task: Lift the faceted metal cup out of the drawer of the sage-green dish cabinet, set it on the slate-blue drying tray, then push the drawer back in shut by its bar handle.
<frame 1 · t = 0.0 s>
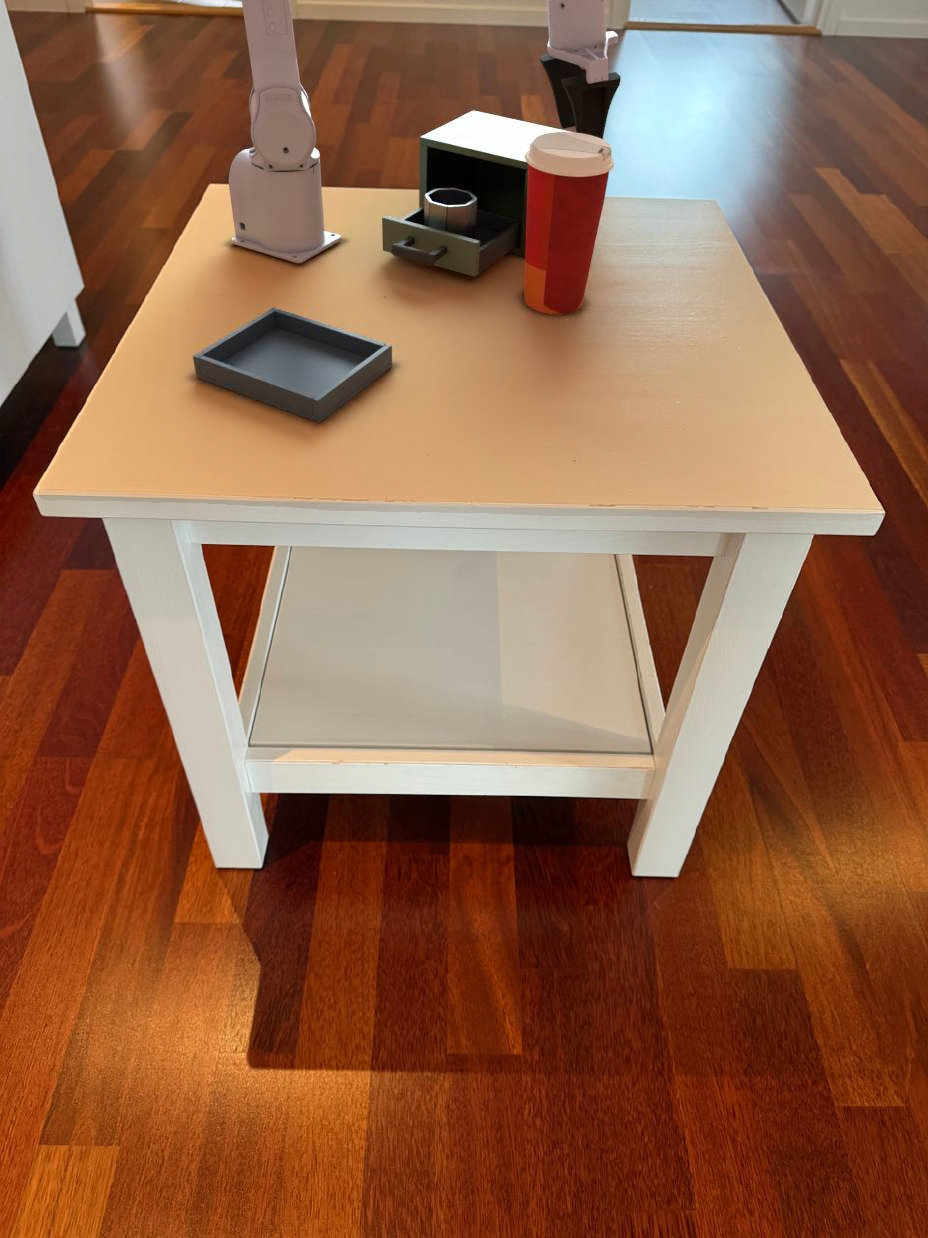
hand: (580, 137, 99), 11 cm above the table, tool pointing down, fingers open, 7 cm apart
drawer: (446, 235, 98), point 3 cm above the table, slide at 9.0 cm, touching faceted metal cup
faceted metal cup: (449, 244, 99), point 1 cm above the table, touching drawer
dish cabinet: (496, 225, 108), on the table
coffee cup: (552, 302, 94), on the table
drying tray: (296, 372, 82), on the table
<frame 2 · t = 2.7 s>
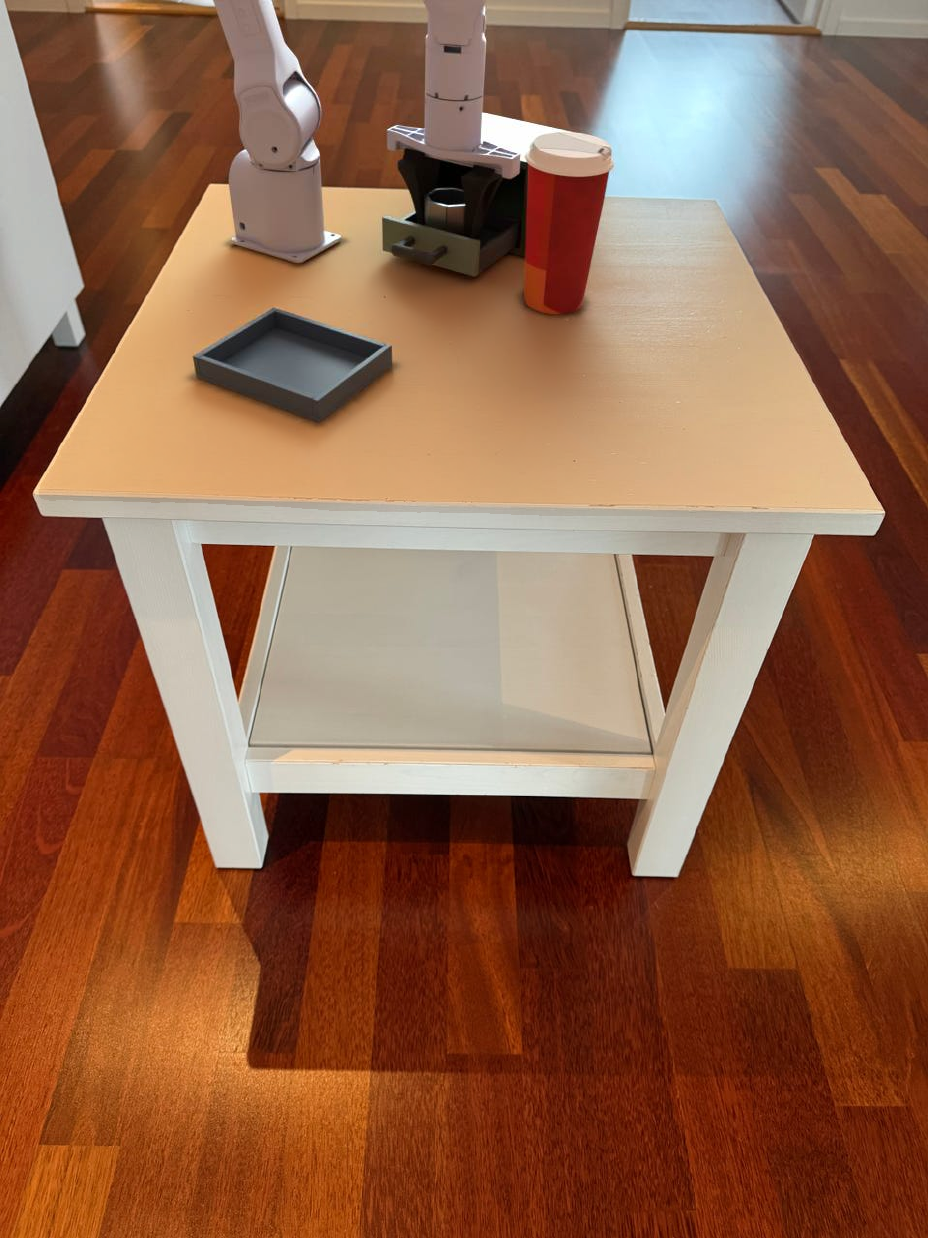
hand: (449, 233, 99), 3 cm above the table, tool pointing down, fingers closed on faceted metal cup, 5 cm apart
faceted metal cup: (448, 244, 100), point 2 cm above the table, touching gripper, drawer
everything else where it was.
when the fingers open (2 cm above the table, at t = 9.1 s): faceted metal cup stays where it is, resting on drying tray.
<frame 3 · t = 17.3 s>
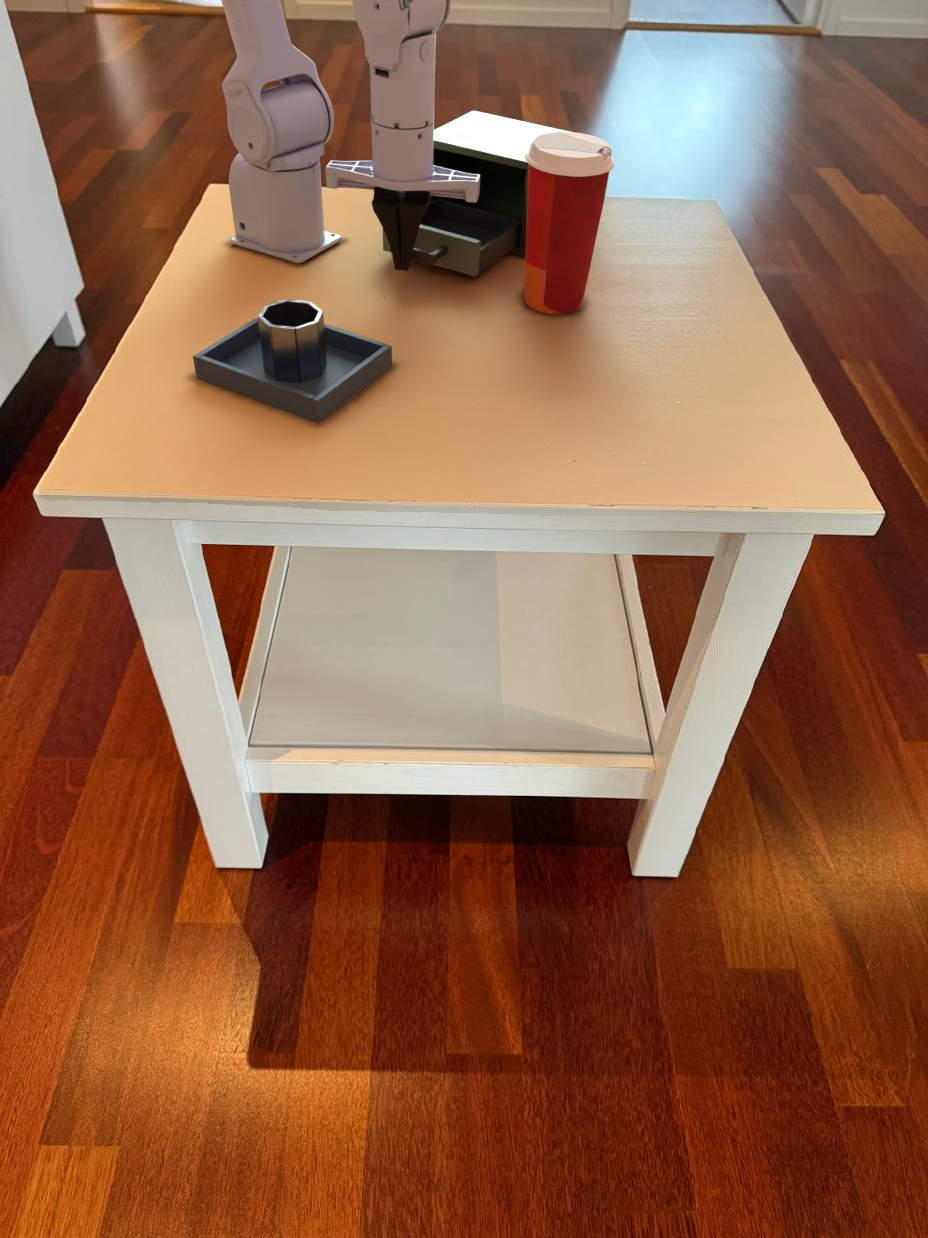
hand: (403, 266, 93), 2 cm above the table, tool pointing down, fingers closed
drawer: (446, 235, 98), point 3 cm above the table, slide at 8.9 cm, touching gripper
faceted metal cup: (295, 366, 81), resting on drying tray
everything else where it was.
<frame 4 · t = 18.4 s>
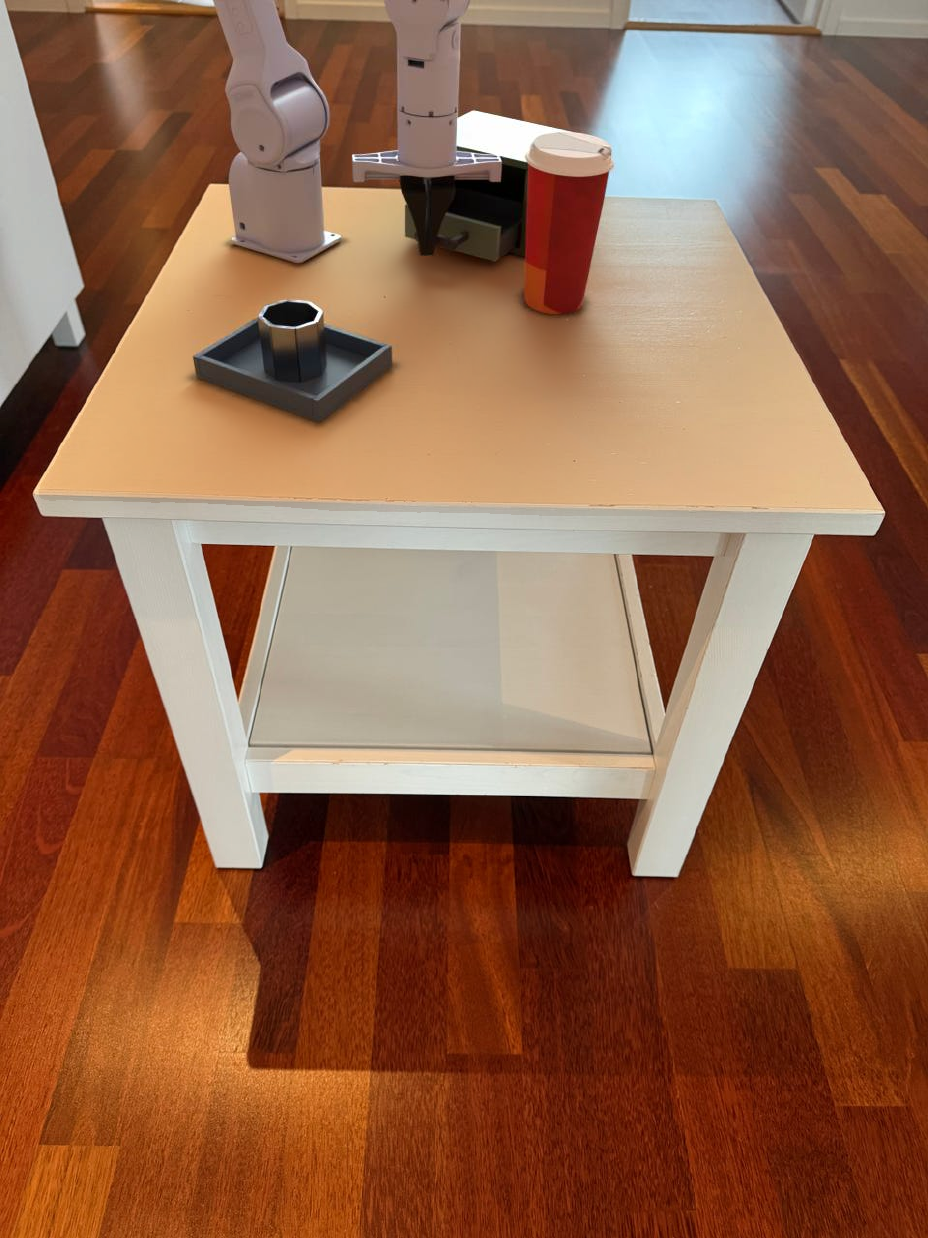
hand: (425, 251, 96), 2 cm above the table, tool pointing down, fingers closed
drawer: (466, 222, 101), point 3 cm above the table, slide at 4.5 cm, touching gripper
everything else where it was.
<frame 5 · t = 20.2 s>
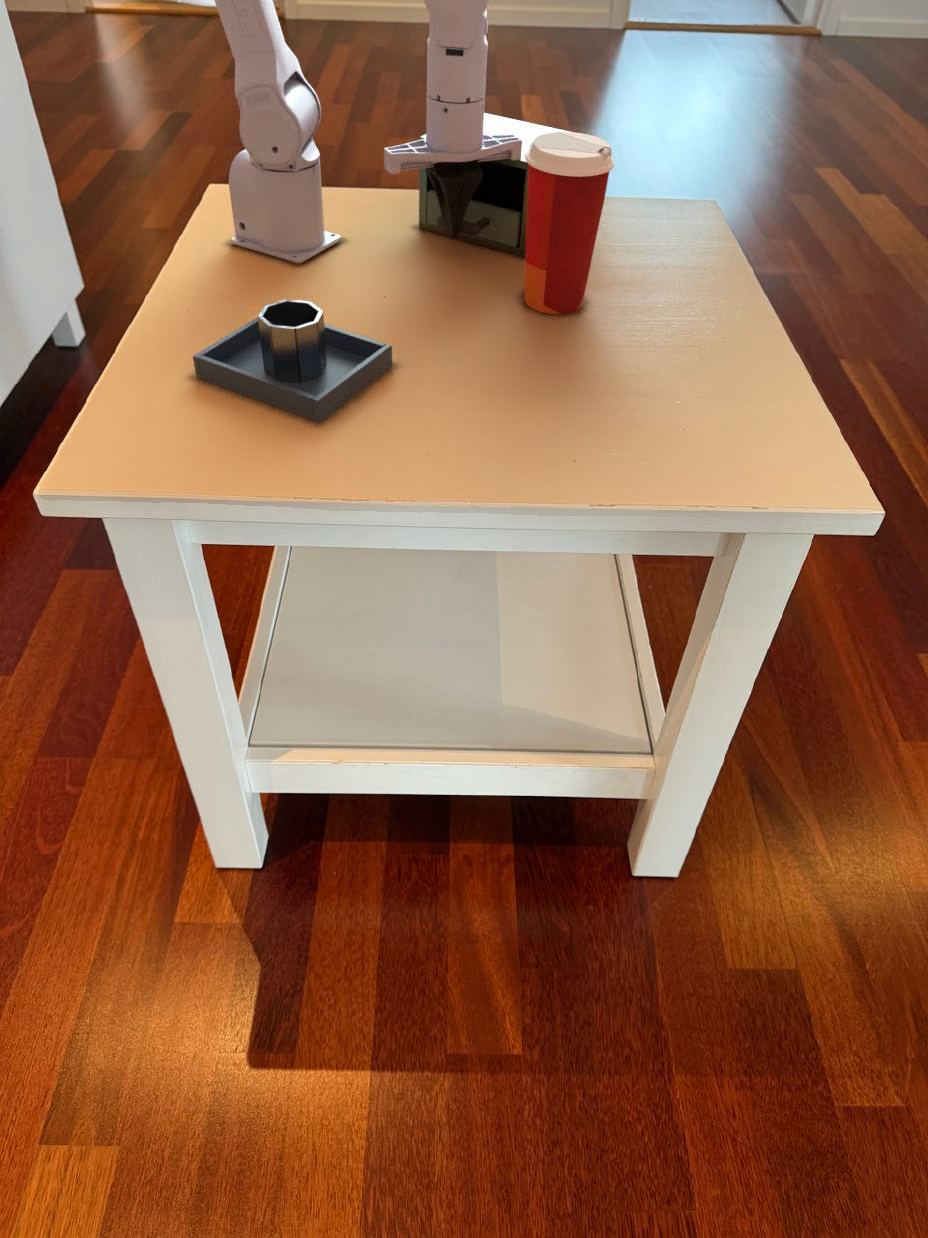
hand: (451, 235, 99), 2 cm above the table, tool pointing down, fingers closed, pressing on drawer
drawer: (487, 208, 104), point 3 cm above the table, slide at -0.2 cm, touching gripper
everything else where it was.
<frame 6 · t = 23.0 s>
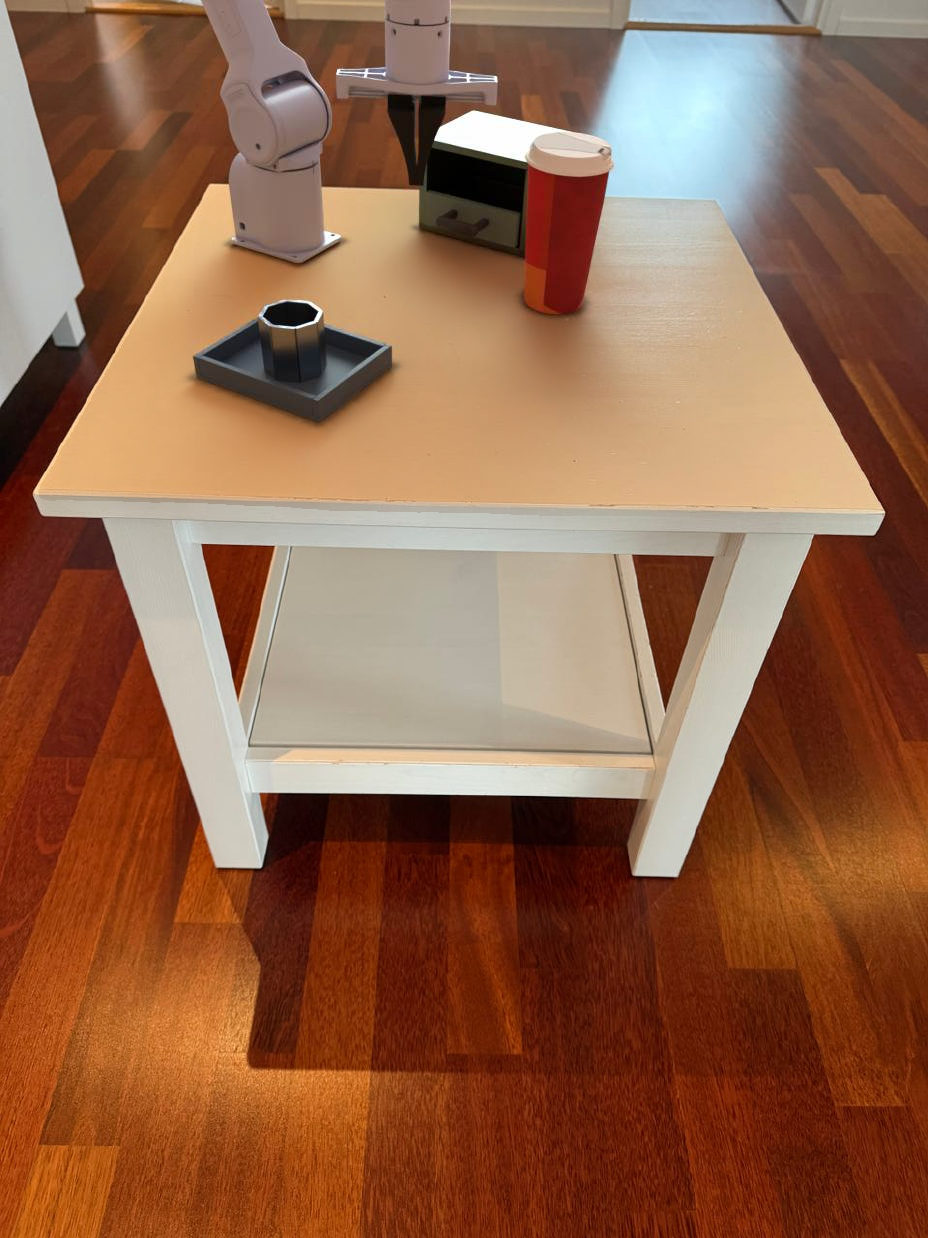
hand: (416, 181, 89), 10 cm above the table, tool pointing down, fingers closed
drawer: (486, 209, 104), point 3 cm above the table, slide at 0.0 cm
everything else where it was.
at the end: faceted metal cup inside the target area in the drying tray (0.0 cm from its centre), point 0.5 cm above the drying tray's base; faceted metal cup tilted 0°; drawer slide at 0.0 cm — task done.
